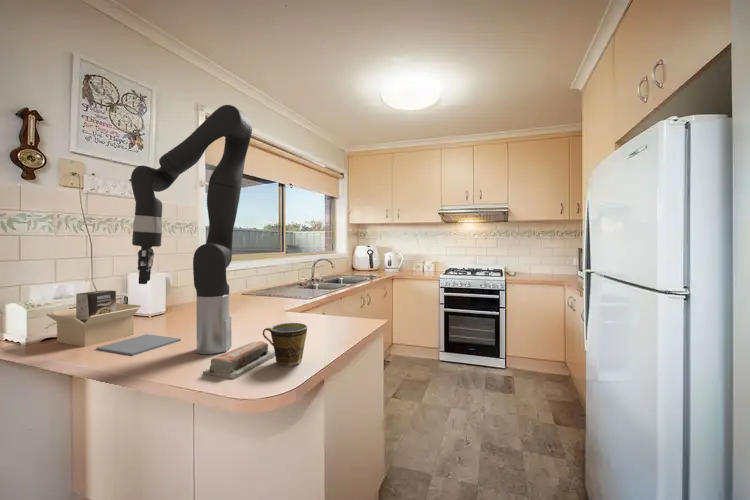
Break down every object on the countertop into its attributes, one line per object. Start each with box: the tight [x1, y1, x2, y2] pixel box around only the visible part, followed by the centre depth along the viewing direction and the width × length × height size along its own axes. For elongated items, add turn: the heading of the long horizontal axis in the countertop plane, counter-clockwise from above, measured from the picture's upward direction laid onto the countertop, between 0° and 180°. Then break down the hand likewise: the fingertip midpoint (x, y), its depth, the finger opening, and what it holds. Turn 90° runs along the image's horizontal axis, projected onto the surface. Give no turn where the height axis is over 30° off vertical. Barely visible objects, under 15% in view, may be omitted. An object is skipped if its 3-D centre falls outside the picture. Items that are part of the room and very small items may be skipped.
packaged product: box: [202, 341, 276, 380], centre depth 91 cm, size 18×5×10 cm
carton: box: [45, 302, 142, 347], centre depth 115 cm, size 20×21×10 cm
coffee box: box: [75, 290, 117, 323], centre depth 115 cm, size 9×6×16 cm
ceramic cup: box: [262, 322, 308, 367], centre depth 93 cm, size 13×10×10 cm
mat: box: [96, 333, 181, 356], centre depth 107 cm, size 16×16×1 cm
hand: (144, 282), depth 104 cm, fingers open, 8 cm apart
